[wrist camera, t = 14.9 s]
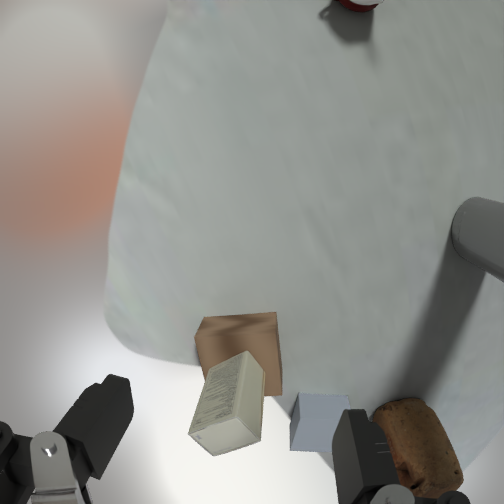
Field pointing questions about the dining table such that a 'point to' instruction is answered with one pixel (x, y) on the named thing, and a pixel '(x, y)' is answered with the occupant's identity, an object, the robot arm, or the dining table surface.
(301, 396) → the slate block
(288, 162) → the dining table surface
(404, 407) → the block
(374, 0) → the cocoa
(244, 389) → the skincare box
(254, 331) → the walnut block
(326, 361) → the dining table surface
